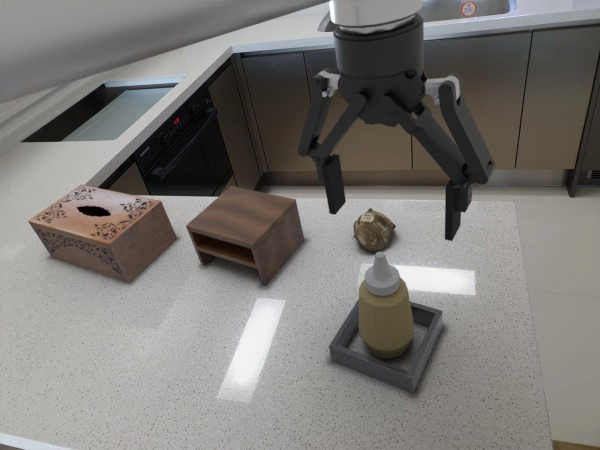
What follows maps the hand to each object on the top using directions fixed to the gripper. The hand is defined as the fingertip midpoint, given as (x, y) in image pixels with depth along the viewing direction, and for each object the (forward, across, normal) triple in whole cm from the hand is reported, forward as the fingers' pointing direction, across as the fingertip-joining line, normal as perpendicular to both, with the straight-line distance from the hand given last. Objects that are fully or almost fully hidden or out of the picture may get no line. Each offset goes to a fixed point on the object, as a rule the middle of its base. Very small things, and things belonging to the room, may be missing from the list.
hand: (391, 219), depth 51 cm
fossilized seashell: (+26, +15, -24) cm, 39 cm away
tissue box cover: (+26, +68, -1) cm, 73 cm away
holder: (+26, +3, -2) cm, 26 cm away
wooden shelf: (+26, +36, -11) cm, 46 cm away
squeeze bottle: (+26, +3, -2) cm, 26 cm away
